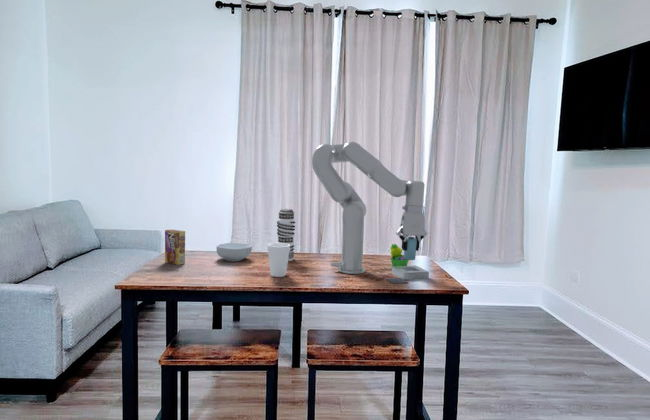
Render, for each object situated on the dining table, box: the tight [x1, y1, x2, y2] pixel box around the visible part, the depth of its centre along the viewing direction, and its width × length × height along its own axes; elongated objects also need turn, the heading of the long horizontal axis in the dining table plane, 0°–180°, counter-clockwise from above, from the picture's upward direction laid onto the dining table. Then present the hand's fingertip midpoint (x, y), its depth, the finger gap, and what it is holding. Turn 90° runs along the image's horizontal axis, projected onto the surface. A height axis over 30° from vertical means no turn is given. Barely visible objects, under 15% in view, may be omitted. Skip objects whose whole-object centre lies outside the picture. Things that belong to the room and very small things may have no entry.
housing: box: [391, 265, 430, 281], centre depth 193 cm, size 12×12×3 cm
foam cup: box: [267, 242, 290, 278], centre depth 186 cm, size 10×9×13 cm
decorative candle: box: [276, 208, 296, 262], centre depth 216 cm, size 9×9×25 cm
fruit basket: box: [390, 243, 409, 267], centre depth 207 cm, size 11×9×11 cm
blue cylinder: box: [403, 236, 417, 261], centre depth 192 cm, size 5×5×10 cm
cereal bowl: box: [216, 242, 252, 262], centre depth 212 cm, size 17×17×7 cm
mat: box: [385, 277, 409, 285], centre depth 183 cm, size 7×7×1 cm
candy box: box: [164, 228, 186, 266], centre depth 200 cm, size 9×4×15 cm, turn 63°
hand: (410, 249), depth 192 cm, fingers closed on blue cylinder, 5 cm apart
